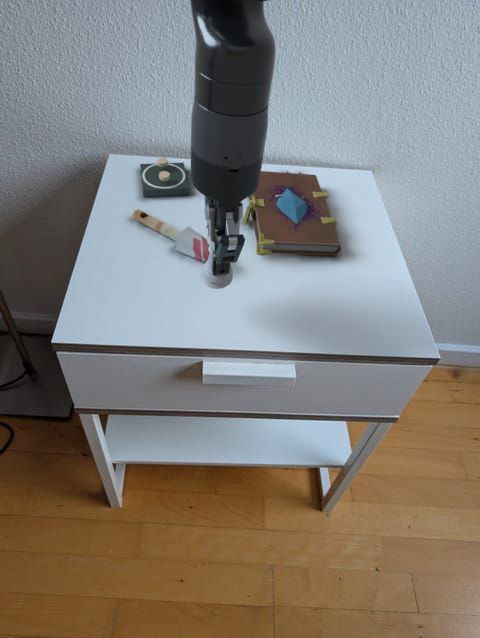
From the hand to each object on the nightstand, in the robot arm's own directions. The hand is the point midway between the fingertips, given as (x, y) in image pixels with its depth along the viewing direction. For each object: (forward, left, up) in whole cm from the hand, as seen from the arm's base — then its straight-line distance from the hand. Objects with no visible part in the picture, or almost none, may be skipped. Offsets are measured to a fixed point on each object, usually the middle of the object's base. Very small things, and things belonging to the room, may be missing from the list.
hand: (217, 262), depth 57 cm
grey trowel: (-4, +15, -10) cm, 18 cm away
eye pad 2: (-5, +29, -7) cm, 31 cm away
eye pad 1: (-5, +34, -7) cm, 35 cm away
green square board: (-5, +32, -10) cm, 33 cm away
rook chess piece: (0, 0, -3) cm, 3 cm away
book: (+16, +21, -10) cm, 28 cm away
